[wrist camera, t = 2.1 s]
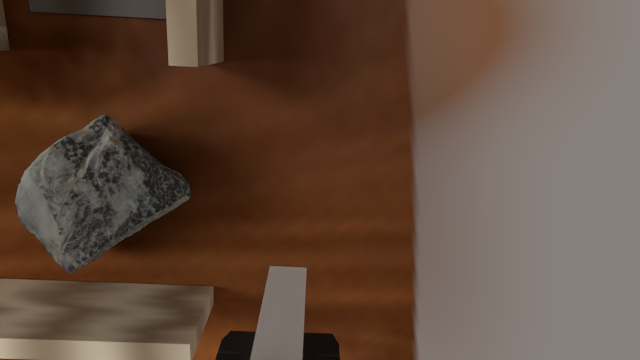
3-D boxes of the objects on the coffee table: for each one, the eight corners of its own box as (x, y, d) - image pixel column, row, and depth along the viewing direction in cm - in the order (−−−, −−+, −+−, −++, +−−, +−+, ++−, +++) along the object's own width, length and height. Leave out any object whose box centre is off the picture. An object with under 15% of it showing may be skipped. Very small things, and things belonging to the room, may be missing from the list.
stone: (96, 320, 24) (23, 141, 21) (31, 281, 30) (-32, 139, 27) (232, 240, 30) (192, 95, 27) (155, 221, 37) (116, 102, 34)
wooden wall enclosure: (-20, 295, 34) (-100, 355, 28) (-115, -192, 25) (-269, -277, 19) (226, 303, 35) (206, 364, 28) (221, -169, 26) (189, -243, 19)
